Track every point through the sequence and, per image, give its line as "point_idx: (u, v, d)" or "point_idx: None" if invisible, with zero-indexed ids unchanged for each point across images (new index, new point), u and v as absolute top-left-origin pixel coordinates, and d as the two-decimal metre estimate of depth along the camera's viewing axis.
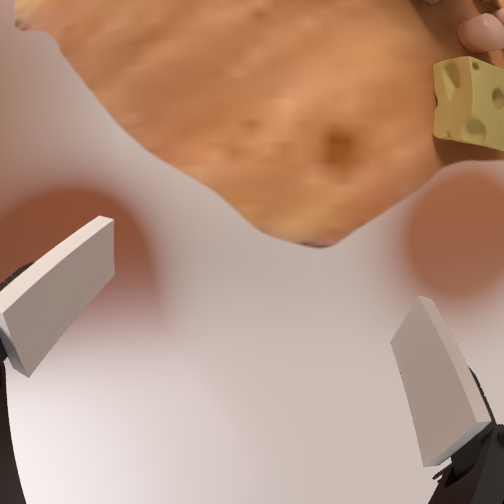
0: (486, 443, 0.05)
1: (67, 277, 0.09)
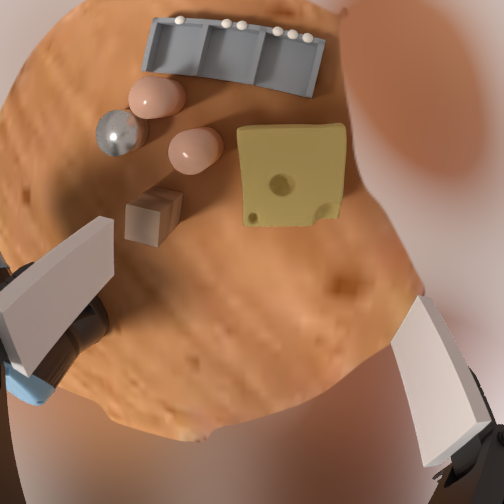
0: (486, 443, 0.05)
1: (67, 277, 0.09)
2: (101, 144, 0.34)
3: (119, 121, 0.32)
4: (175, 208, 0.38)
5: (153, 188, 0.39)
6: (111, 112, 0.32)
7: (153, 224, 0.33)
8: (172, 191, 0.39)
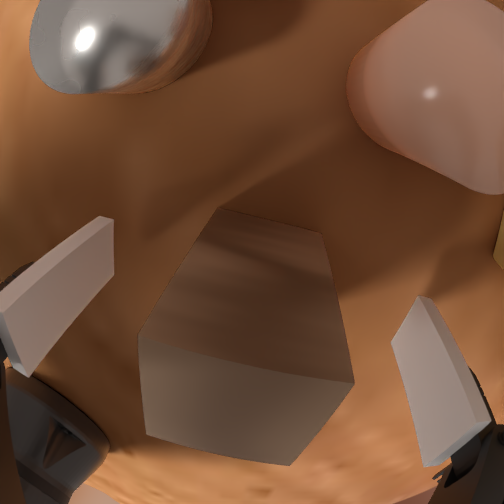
0: (486, 443, 0.05)
1: (67, 277, 0.09)
2: (41, 58, 0.07)
3: None
4: None
5: (222, 217, 0.12)
6: None
7: (294, 421, 0.06)
8: (288, 228, 0.12)
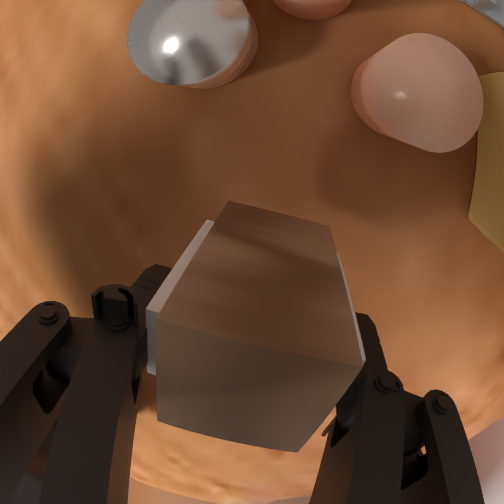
0: (361, 394, 0.07)
1: None
2: (140, 56, 0.12)
3: None
4: None
5: (234, 210, 0.12)
6: None
7: (304, 405, 0.07)
8: (297, 221, 0.13)
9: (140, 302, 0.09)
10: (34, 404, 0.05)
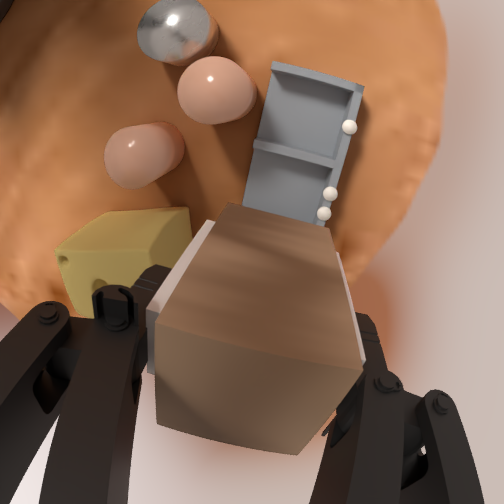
0: (361, 394, 0.07)
1: None
2: (157, 7, 0.17)
3: (188, 33, 0.18)
4: None
5: (233, 212, 0.12)
6: (205, 19, 0.18)
7: (304, 409, 0.07)
8: (297, 223, 0.13)
9: (140, 302, 0.09)
10: (34, 404, 0.05)
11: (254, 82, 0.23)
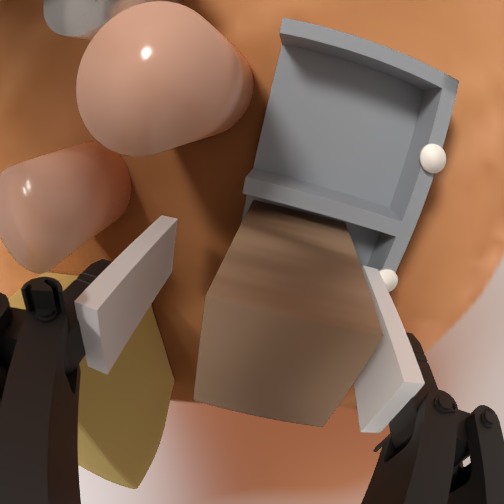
0: (421, 412, 0.06)
1: (144, 274, 0.10)
2: None
3: None
4: None
5: (259, 207, 0.13)
6: None
7: (331, 375, 0.08)
8: (316, 218, 0.14)
9: (78, 296, 0.08)
10: None
11: (248, 64, 0.12)
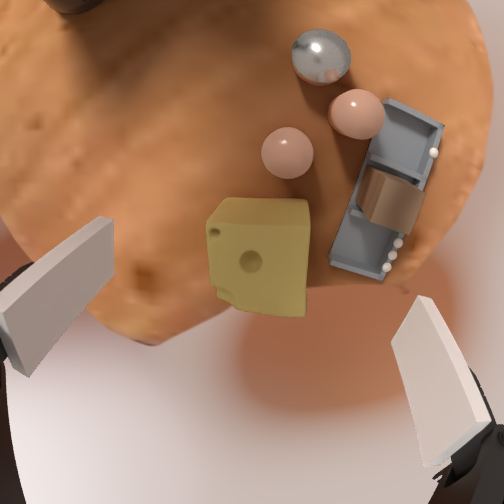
0: (486, 443, 0.05)
1: (67, 277, 0.09)
2: (309, 34, 0.24)
3: (336, 64, 0.25)
4: None
5: (371, 166, 0.31)
6: (348, 55, 0.24)
7: (413, 207, 0.26)
8: (390, 173, 0.32)
9: None
10: None
11: None
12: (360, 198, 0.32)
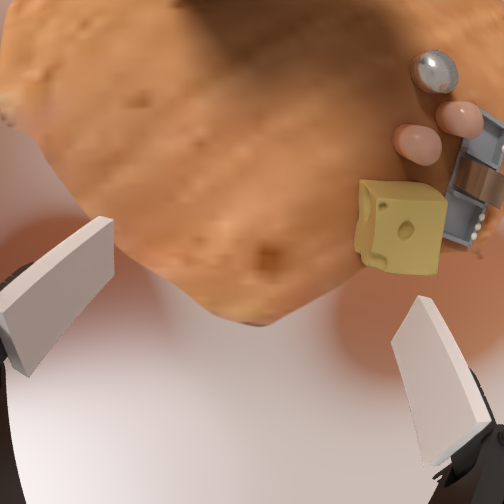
0: (486, 443, 0.05)
1: (67, 277, 0.09)
2: (431, 54, 0.27)
3: (449, 79, 0.28)
4: None
5: (465, 158, 0.35)
6: (457, 74, 0.27)
7: (503, 189, 0.29)
8: None
9: None
10: None
11: None
12: (461, 182, 0.35)
